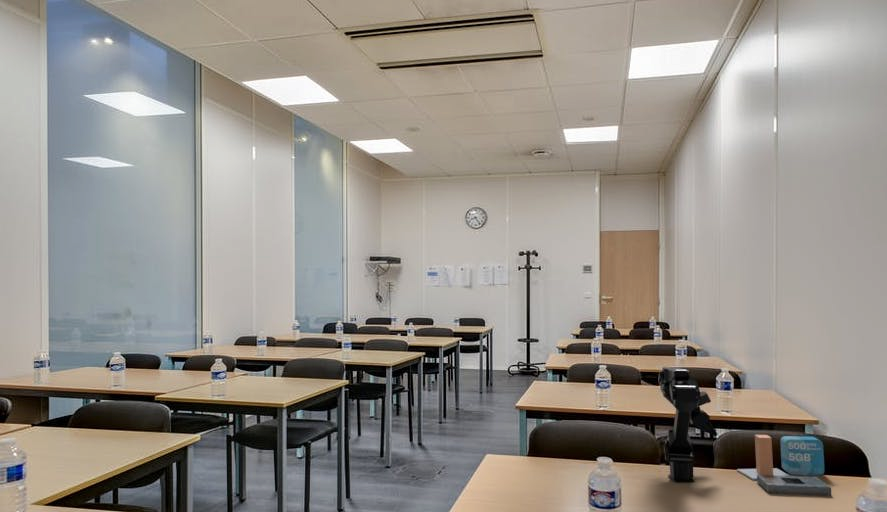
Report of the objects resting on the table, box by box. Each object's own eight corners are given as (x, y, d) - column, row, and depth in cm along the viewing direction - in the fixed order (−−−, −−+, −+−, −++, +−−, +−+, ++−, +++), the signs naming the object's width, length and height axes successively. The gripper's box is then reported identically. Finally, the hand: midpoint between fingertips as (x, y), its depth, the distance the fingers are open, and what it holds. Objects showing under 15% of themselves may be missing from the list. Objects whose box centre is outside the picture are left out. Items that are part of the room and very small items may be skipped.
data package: (786, 474, 200) (785, 439, 201) (781, 470, 205) (779, 435, 205) (825, 475, 198) (823, 440, 199) (818, 471, 203) (816, 436, 203)
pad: (752, 480, 195) (752, 478, 195) (737, 470, 205) (737, 469, 205) (793, 479, 195) (793, 477, 195) (776, 469, 205) (776, 468, 205)
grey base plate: (768, 493, 183) (767, 484, 183) (757, 482, 193) (756, 474, 193) (831, 495, 180) (831, 487, 180) (817, 484, 189) (816, 476, 190)
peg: (760, 474, 199) (758, 437, 199) (756, 471, 202) (754, 434, 203) (773, 475, 198) (771, 437, 199) (768, 471, 202) (767, 434, 202)
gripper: (701, 388, 199) (737, 422, 196) (689, 379, 217) (722, 410, 215) (678, 411, 200) (714, 445, 197) (667, 400, 218) (700, 431, 216)
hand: (713, 431), depth 206 cm, fingers open, 9 cm apart
